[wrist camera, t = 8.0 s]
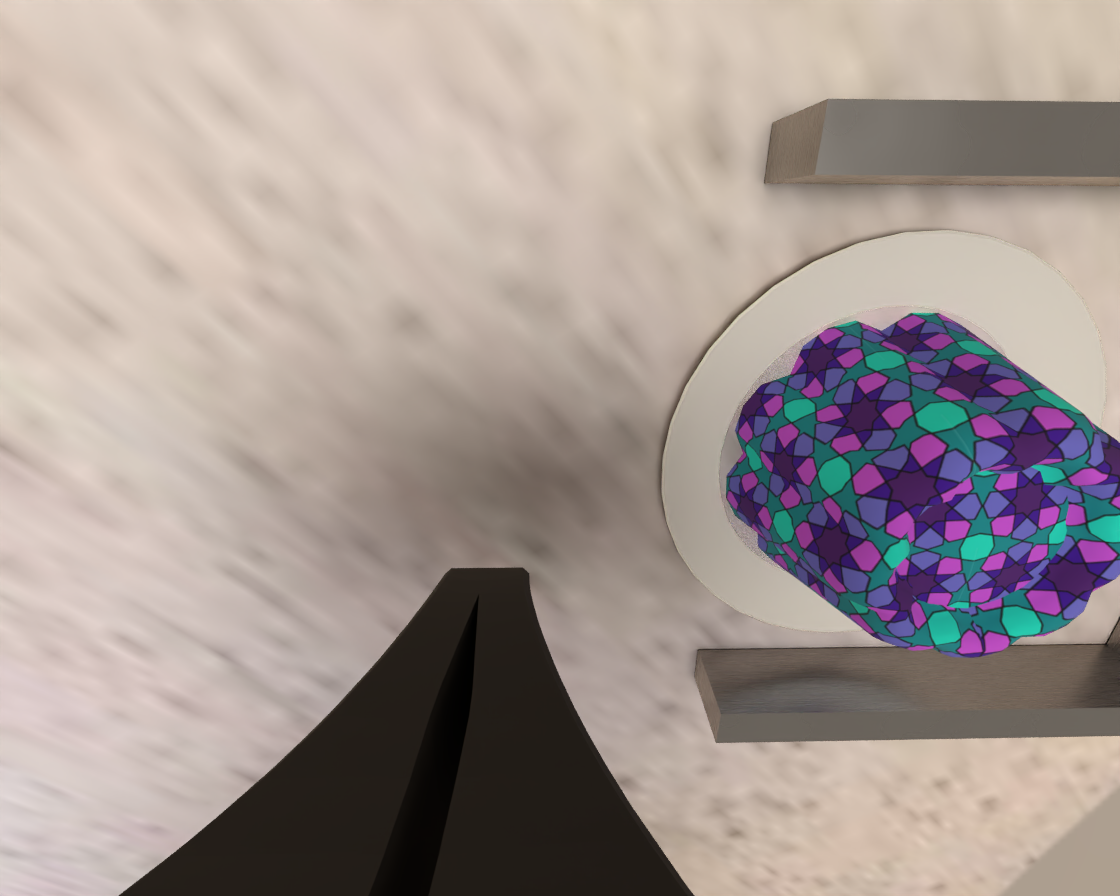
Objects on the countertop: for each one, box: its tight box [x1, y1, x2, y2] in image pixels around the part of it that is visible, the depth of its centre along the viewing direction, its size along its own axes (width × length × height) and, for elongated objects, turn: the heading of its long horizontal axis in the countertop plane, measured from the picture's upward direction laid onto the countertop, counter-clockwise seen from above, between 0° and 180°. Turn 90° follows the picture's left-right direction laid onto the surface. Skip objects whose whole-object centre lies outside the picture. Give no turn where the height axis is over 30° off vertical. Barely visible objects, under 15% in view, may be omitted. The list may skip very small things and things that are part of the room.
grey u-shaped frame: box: [695, 99, 1120, 743], centre depth 14 cm, size 16×15×2 cm
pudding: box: [661, 230, 1120, 658], centre depth 13 cm, size 12×12×5 cm
